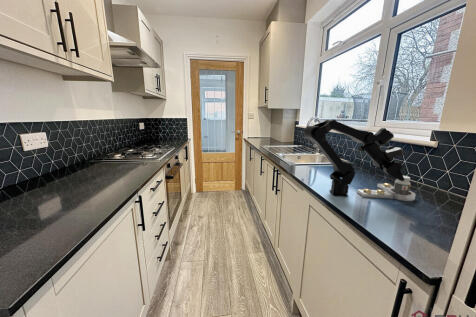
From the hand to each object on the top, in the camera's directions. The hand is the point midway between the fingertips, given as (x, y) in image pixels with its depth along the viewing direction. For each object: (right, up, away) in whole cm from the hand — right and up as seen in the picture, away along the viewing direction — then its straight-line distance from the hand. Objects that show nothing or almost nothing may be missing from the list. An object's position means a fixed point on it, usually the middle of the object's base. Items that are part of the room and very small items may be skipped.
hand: (398, 177), depth 90 cm
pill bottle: (+2, -9, +2) cm, 10 cm away
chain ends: (-4, -8, +6) cm, 11 cm away
